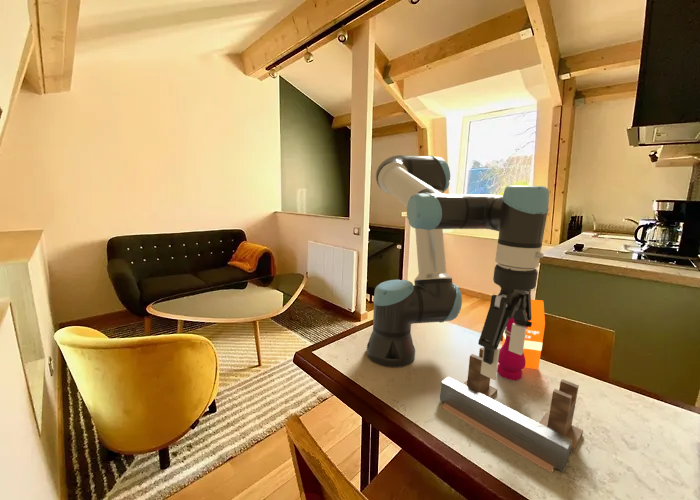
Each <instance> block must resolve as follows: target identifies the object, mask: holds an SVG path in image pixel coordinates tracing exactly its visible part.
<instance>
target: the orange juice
mask: <svg viewBox="0 0 700 500" xmlns="http://www.w3.org/2000/svg"><path fill="white" fill-rule="evenodd" d="M531 315H532V319H531V321H529V322H532V326H531V327H528V328H527V329H526V335H525V341H524V348H523V353H524V356H525V360H526V365H525V367H524V368H526V369H528V368H529V369H534V370H539V367H540V361H541V355H542V350H543V339H544V335H545V334H544V333H545V327H546V320H545V319H546V317H545V305H544V300H541V299H540V300H539V299H532V298H531ZM504 331H505V330H504ZM505 339H506V334H505V333H503V335H502V344H501V347H502V346H503V344H504V342H505Z"/></svg>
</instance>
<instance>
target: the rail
mask: <svg viewBox="0 0 700 500" xmlns="http://www.w3.org/2000/svg"><path fill="white" fill-rule="evenodd" d="M439 394H440V395H439V401H441V402H442V403H443V404H445V403H446V404H447V405H449V406H451V407H453V408H454V409H456V410H458V411H459V412H461V413H463V414H464V415H466V416H468V417H470V418H471V419H473V420H475V421H476V422H478V423H480V424H482V425H483V426H485V427H487V428H488V429H490V430H492V431H494V432H495V433H497V434H499V435H500V436H502V437H504V438H506V439H507V440H509V441H511V442H512V443H514V444H516V445H518V446H519V447H521V448H523V449H524V450H526V451H528V452H530V453H531V454H533V455H535V456H536V457H538V458H540V459H541V460H543V461H545V462H547V463H548V464H550V465H552V466H553V467H554V469H555V468H556V469H557V470H559V471H561V472H562V473H564V472H565V470H566V468H567V466H568V464H569V460H570V457H571V456H570V455H571V452H570V450H571V445H572V440H571V439H570V438H568V437H566V436H564V435H562V434H560V433H558V432H556V431H554V430H552V429H550V428H548V427H546V426H544V425H542V424H540V423H539V422H538V421H536V420H534V419H532V418H530V417H528V416H526V415H524V414H522V413H520V412H518V411H517V410H514V409H513V408H510V407H508V406H506V404H505V405H504V404H503V403H501V402H499V401H497V400H494V399H493V398H492V399H491V398H489V397H487V396H485V395H483V394H481V393H479V392H477V391H475V390H473V389H471V388H469V387H467V386H465V385H464V384H463V383H461V382H459V381H458V380H456V379H454V378H453V377H450V376H447V377H446V378H444V379H443V380H441V382H440V393H439Z"/></svg>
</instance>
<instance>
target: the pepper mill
mask: <svg viewBox="0 0 700 500" xmlns="http://www.w3.org/2000/svg"><path fill="white" fill-rule="evenodd" d="M513 323H515V322H514V318H511V319H509V321H508V323H507V326H506V328H505V331H504V333H505V334H506V339H505V342H504V344H503V346H502V345H501V347H500V351H499V359H498V366H497V374H498V375H500V376H501V377H502V378H504V379H506V380H509V381H520V380H521V379H522V378H523V370H524V369H525V368H526V367H525V365H526V360H525V356H524V353H523V354H522V355H519V354H516V353H514V352H511V351H509V343H510V336H511V329H512V324H513ZM515 324H517V323H515ZM525 327H527V328H528V326H525ZM527 328H526V329H527Z"/></svg>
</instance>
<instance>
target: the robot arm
mask: <svg viewBox="0 0 700 500" xmlns="http://www.w3.org/2000/svg"><path fill="white" fill-rule="evenodd" d="M375 180H376V183H377V186H378V187H379V188H380V189H381V191H383V192H385V193H386V194H389V195H392V196H393V197H394V198H395V199H396V200H398V201H399V203H401V204H402V205H403V206H404V207H405V208H406V217H407V220H408V225H410V227H411V228H413V229H415V231H414V232H415V243H416V256H417V258H416V259H417V269H418V270H417V271H418V274H417V276H416V277H415V278H414V284H413V282H412V281H410V280H407V279H401V280H400V279H390V280H385V281H383V282H380V283H379V284H377V285H376V287H375V289H374V295H373V296H374V297H373V301H372V302H373V314H372V315H373V318H372V319H373V320H372V325H373V326H372V331H371V334H370V337H369V339H368V342H367V345H366V355H367V357H368V359H369V360H370V361H372V362H373V363H375V364H377V365H379V366H383V367H387V368H402V367H406V366H408V365H410V364H412V363H413V362H414V360H416V359H415V358H416V348H415V346H414V343H413V337H412V335H411V333H412V332H411V329H412V325H413V324H426V323H444V322H451V321H454V320H455V319H457V317H458V316H459V314H460V312H461V310H462V305H463V296H462V295H463V294H462V291H461V290H460V287H459V286H458V285H457V284H456V283H453V277H452V276H451V275H449V273H447V265H446V253H445V251H446V250H445V241H444V231H443V230H491V231H496V232H498V239H497V243H496V244H497V245H496V250H495V251H496V252H495V253H496V254H495V262H496V263H497V264H495V266H494V270H493V277H492V279H493V283H494V284H495V285H497V286H498V287H500V290H499V293H498V295H496V294H494V293H493V294H492V296H491V298H490V302H489V303H490V305H489V308H488V310H487V311H488V312H487V315H486V318H485V321H484V325H483V327H482V330H481V333H480V337H479V339H478V345H479V346H481V347H483V357H482V365H481V373H480V374H482V375H484V376H487V377H489V378H490V380H493V381H494V380H496V379H497V374H498V372H497V368H498V365H499V363H498V359H499V351H500V349H501V347H499V345H500V343H501V340H502V339H503V333H504V330H505V328H506V326H507V323H508V321H509V319H511V318H514V322H515V323H517V324H515V323H513V324H512V329H511V336H510V343H509V351H511V352H514V353H516V354H519V355H522V354H523V348H524V341H525V335H526V328H527V327H525V326H528V327H531V326H532V322H529V321H531V319H532V315H531V299H532V297H531V296H532V295H531V294H532V293H531V292H532V290H533V289H535V288H536V286H537V282H538V281H537V280H538V276H539V275H538V274H539V271H538V270H537V268H538V267H540V266H539V265H540V259H542V258H544V253H543V252H541V251H542V246H543V242H544V241H543V240H544V234H545V229H546V223H547V216H548V213H549V210H550V208H549V202H550V189H549V188H547V187H546V186H543V185H541V186H540V185H539V186H538V185H508V186H507V185H506V187H505V188H504V191H503V195H502V194H501V195H500V194H491V193H477V194H475V193H445V192H446V191H447V190H448V188H449V187H450V181H451V170H450V167H449V164H448V162H447V161H446V160H445V159H444V158H442V157H440V156H433V155H404V154H403V155H401V154H398V155H392V156H390V157H388V158H386V159H384V160H383V161H382V162H381V163H380V164H379V165H378V166H377V169H376V172H375Z"/></svg>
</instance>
